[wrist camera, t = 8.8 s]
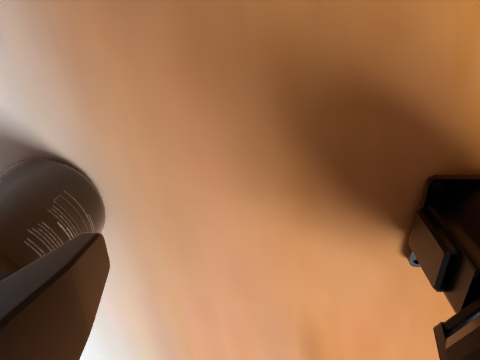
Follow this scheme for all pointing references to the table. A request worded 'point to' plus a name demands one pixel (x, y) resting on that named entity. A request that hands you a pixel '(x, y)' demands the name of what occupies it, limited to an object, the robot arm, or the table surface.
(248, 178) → the table surface
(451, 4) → the table surface
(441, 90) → the table surface
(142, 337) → the table surface
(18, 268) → the supplement bottle
